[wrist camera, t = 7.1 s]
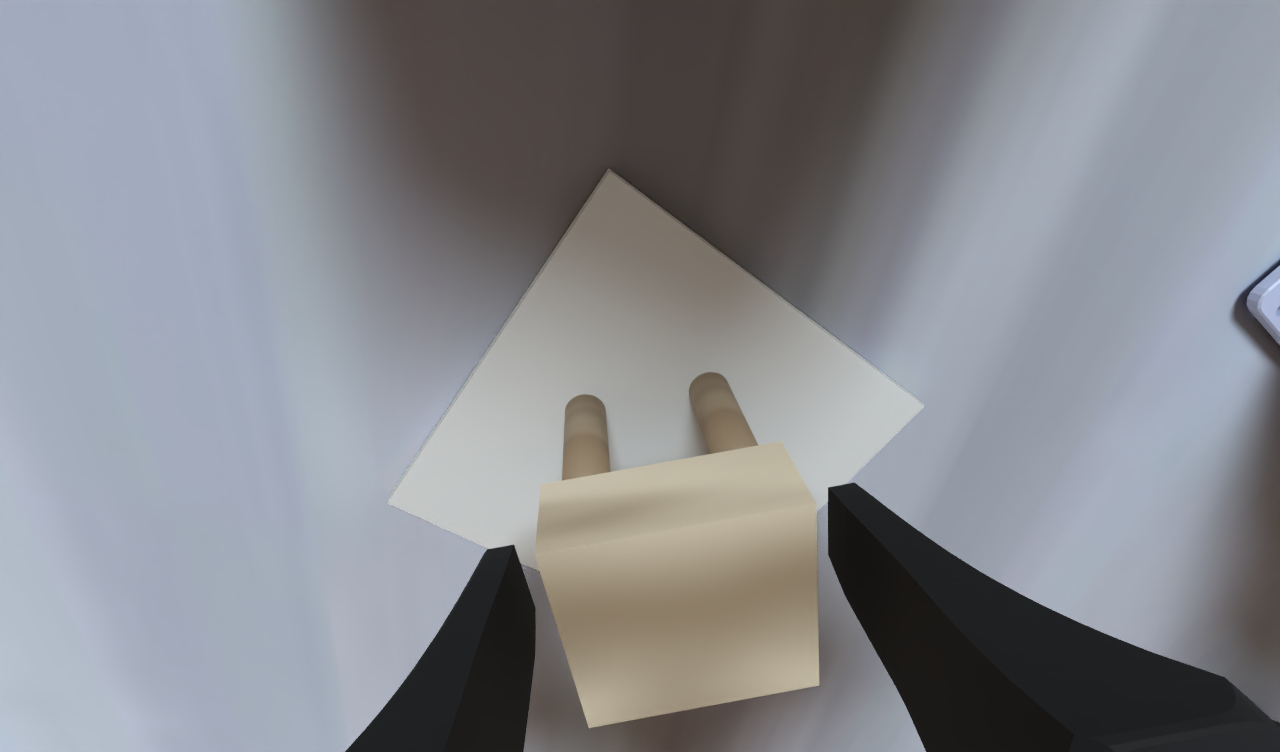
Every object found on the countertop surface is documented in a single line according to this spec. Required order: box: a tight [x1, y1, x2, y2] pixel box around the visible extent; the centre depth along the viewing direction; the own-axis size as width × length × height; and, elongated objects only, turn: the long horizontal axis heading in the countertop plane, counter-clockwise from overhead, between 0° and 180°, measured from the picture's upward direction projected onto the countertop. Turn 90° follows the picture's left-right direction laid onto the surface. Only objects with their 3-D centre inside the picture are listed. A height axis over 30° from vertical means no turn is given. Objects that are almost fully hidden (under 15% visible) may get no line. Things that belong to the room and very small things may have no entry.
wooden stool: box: [534, 372, 819, 728], centre depth 14 cm, size 5×5×6 cm
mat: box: [387, 168, 924, 572], centre depth 17 cm, size 11×11×1 cm
